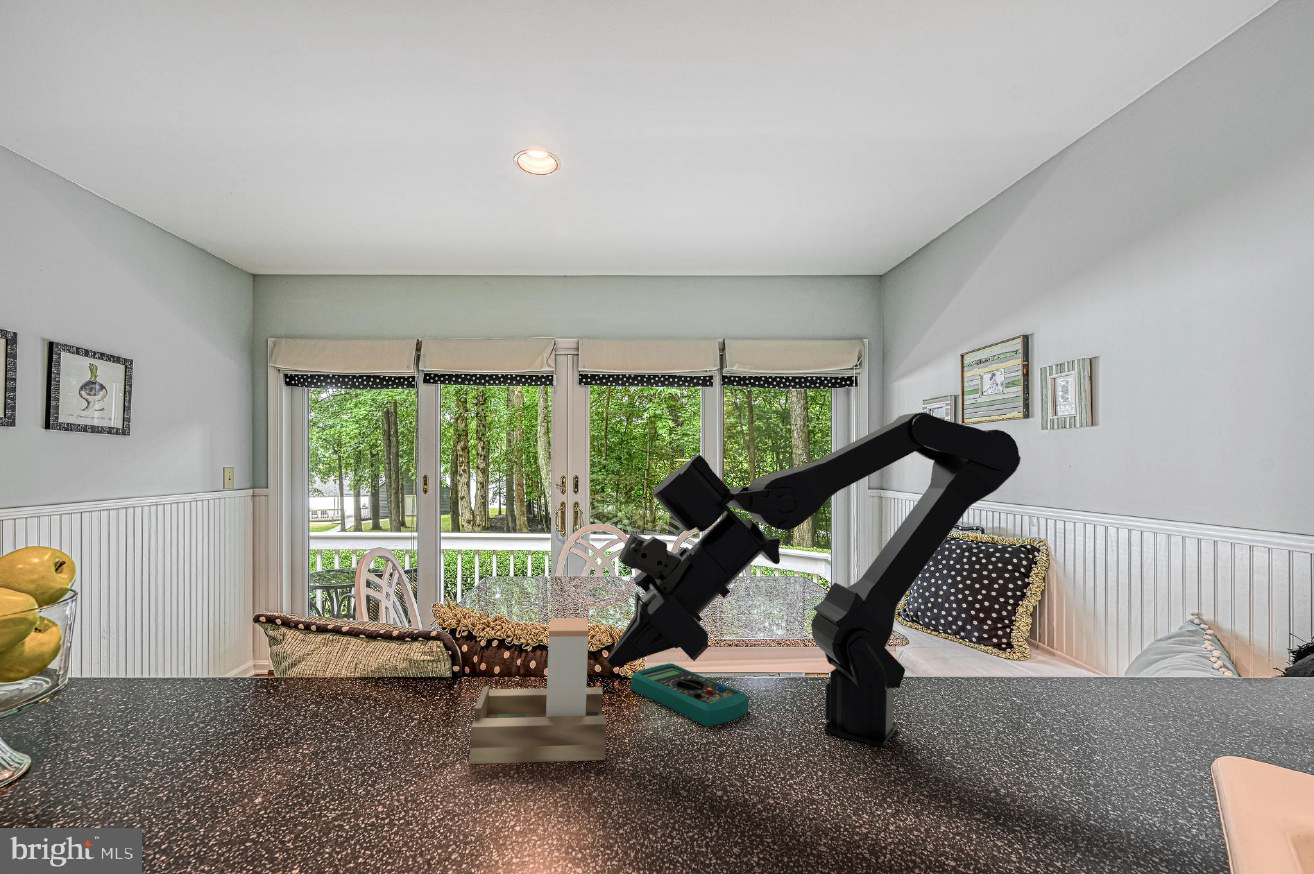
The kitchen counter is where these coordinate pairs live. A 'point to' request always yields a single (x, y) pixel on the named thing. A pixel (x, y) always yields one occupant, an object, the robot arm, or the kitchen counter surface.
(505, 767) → the kitchen counter surface
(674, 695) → the digital multimeter
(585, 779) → the kitchen counter surface
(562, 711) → the switch tab
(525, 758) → the open taupe tray
